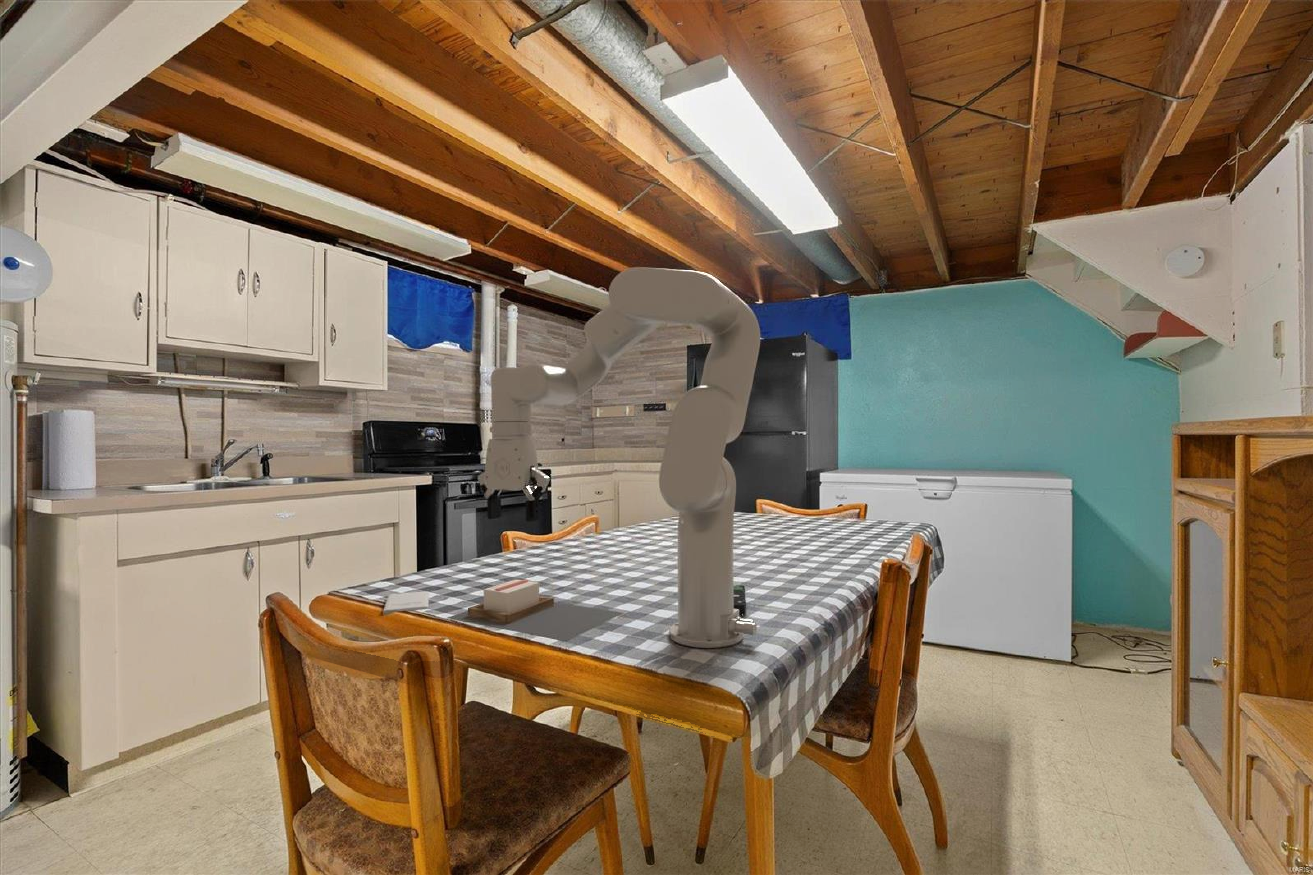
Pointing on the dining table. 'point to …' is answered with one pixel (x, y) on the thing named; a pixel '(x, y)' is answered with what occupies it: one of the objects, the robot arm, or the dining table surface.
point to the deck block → (511, 596)
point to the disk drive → (740, 599)
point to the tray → (511, 617)
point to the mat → (552, 621)
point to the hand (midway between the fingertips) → (513, 519)
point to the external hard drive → (406, 602)
